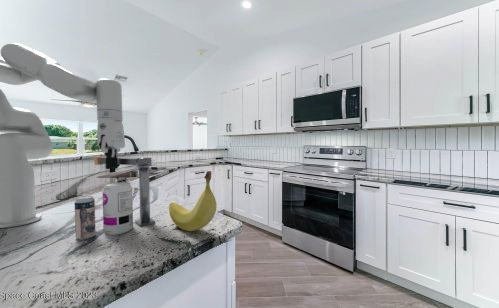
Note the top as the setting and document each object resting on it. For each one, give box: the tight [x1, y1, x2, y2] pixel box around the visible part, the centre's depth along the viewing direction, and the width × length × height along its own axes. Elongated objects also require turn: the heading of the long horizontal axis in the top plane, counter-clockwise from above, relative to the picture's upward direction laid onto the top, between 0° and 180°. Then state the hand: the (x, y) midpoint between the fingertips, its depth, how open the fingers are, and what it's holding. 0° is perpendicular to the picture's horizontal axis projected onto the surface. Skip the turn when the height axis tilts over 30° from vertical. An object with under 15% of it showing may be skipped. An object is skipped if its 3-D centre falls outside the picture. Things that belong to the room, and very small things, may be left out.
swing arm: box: [94, 155, 153, 168], centre depth 81 cm, size 27×5×3 cm, turn 68°
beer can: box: [74, 195, 97, 241], centre depth 66 cm, size 5×5×12 cm
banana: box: [168, 170, 217, 232], centre depth 71 cm, size 23×6×20 cm, turn 50°
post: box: [134, 166, 156, 227], centre depth 78 cm, size 5×5×20 cm
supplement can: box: [102, 181, 134, 236], centre depth 71 cm, size 8×8×15 cm
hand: (111, 168), depth 78 cm, fingers closed
